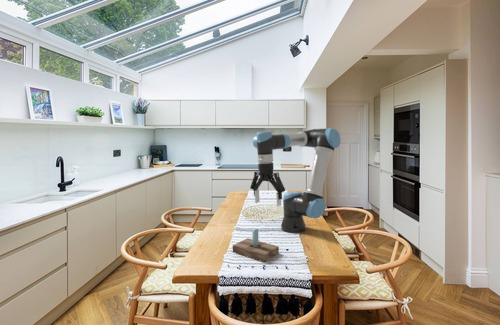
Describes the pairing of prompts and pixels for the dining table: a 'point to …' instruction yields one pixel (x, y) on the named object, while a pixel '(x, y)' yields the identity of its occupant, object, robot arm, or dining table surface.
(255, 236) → the peg
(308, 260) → the dining table surface
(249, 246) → the hole block
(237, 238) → the dining table surface
